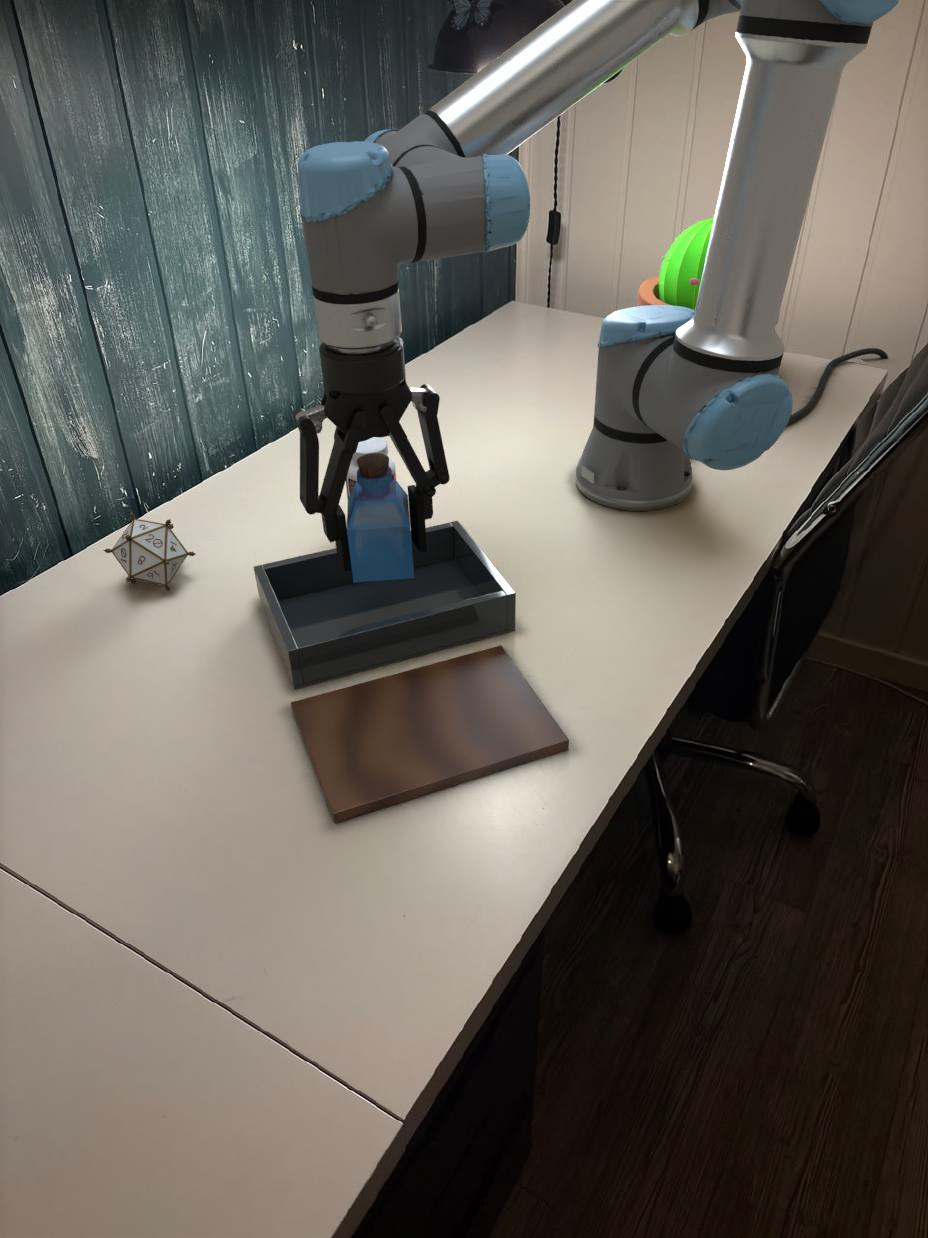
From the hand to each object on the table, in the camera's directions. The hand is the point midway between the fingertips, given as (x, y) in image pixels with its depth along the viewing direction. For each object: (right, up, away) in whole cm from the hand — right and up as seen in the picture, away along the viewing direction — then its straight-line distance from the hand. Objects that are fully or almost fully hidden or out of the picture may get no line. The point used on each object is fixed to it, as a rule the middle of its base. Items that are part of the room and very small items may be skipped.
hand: (382, 554), depth 95 cm
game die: (-27, -3, +11) cm, 29 cm away
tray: (0, -6, +5) cm, 8 cm away
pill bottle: (-3, +5, +20) cm, 21 cm away
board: (+5, -17, -10) cm, 20 cm away
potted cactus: (+47, +34, +57) cm, 81 cm away
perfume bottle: (0, -1, +1) cm, 1 cm away
